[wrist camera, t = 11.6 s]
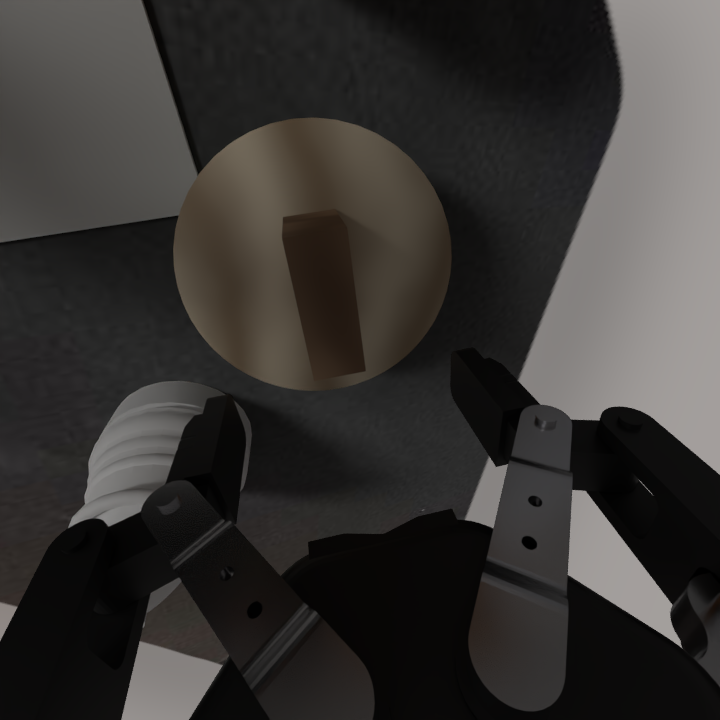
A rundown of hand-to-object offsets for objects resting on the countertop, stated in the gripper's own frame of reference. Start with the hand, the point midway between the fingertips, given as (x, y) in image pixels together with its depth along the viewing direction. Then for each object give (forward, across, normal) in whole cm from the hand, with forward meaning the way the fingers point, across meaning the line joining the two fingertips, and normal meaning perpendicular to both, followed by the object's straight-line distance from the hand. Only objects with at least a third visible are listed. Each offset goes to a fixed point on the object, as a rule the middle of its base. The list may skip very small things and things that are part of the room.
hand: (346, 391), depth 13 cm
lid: (+13, 0, 0) cm, 13 cm away
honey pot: (+20, +16, +16) cm, 30 cm away
